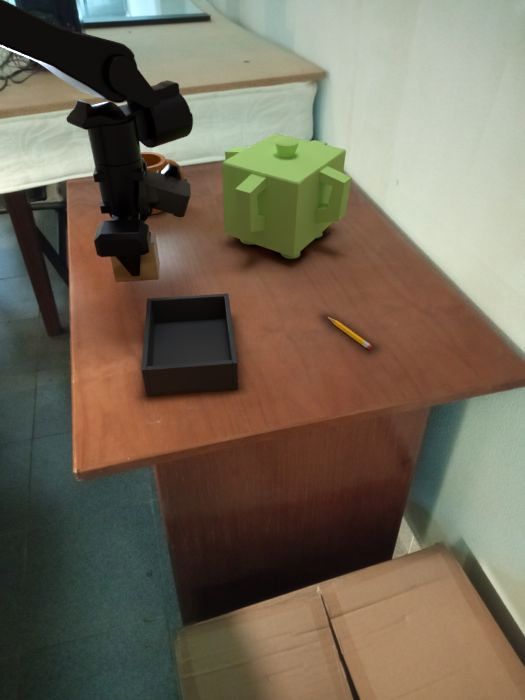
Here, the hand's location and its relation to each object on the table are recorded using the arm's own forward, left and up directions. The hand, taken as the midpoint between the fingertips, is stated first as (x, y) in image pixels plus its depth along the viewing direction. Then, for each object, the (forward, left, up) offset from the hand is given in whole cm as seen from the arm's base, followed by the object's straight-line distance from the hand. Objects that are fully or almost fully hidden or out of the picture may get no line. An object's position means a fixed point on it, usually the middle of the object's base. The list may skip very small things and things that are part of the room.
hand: (137, 266), depth 71 cm
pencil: (+29, -11, -6) cm, 32 cm away
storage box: (+24, +17, -6) cm, 30 cm away
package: (0, 0, -1) cm, 1 cm away
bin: (+7, -13, -6) cm, 16 cm away
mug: (+1, +32, -6) cm, 33 cm away
